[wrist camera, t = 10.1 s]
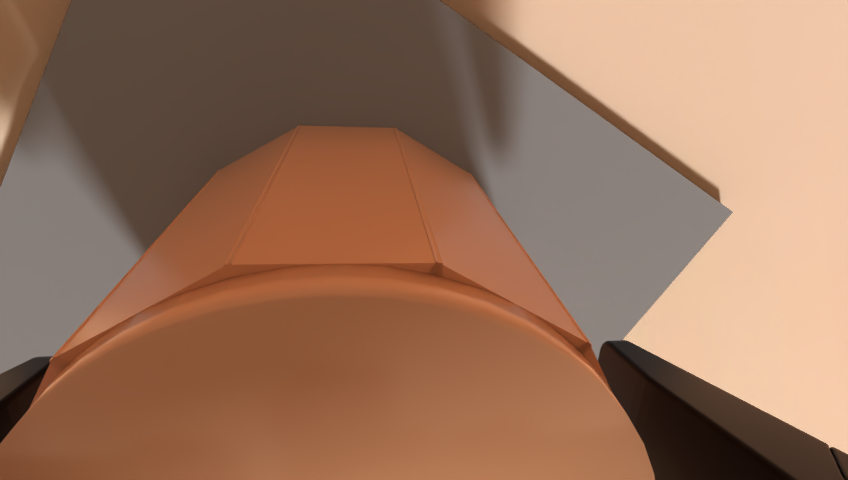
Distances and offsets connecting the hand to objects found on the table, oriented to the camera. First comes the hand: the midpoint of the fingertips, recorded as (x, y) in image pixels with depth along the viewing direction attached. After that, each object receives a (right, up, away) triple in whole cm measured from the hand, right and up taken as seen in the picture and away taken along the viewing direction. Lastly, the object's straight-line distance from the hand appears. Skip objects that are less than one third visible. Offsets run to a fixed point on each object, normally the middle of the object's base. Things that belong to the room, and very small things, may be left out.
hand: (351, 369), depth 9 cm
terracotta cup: (0, +1, +3) cm, 3 cm away
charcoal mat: (0, +2, +3) cm, 4 cm away
